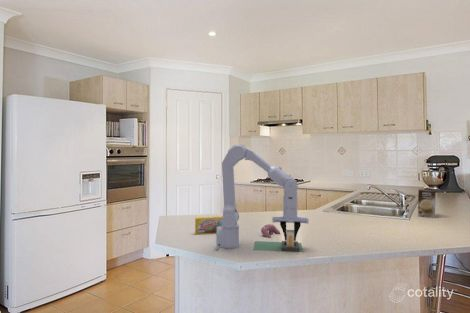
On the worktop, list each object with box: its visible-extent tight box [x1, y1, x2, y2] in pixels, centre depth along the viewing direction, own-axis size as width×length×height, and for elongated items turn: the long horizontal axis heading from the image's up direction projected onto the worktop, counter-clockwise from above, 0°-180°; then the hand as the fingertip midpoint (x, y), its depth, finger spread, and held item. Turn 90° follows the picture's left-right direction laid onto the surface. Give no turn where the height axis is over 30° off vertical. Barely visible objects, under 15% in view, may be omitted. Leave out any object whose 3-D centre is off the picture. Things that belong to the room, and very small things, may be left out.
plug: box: [286, 229, 294, 247], centre depth 127 cm, size 3×5×6 cm, turn 172°
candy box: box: [194, 215, 223, 235], centre depth 154 cm, size 16×2×8 cm, turn 101°
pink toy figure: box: [260, 223, 281, 239], centre depth 147 cm, size 10×5×7 cm, turn 141°
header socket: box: [281, 240, 300, 253], centre depth 127 cm, size 7×9×2 cm
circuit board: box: [252, 240, 304, 253], centre depth 130 cm, size 20×12×1 cm, turn 82°
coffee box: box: [417, 189, 436, 219], centre depth 190 cm, size 9×6×16 cm
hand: (290, 240), depth 127 cm, fingers closed on plug, 3 cm apart
